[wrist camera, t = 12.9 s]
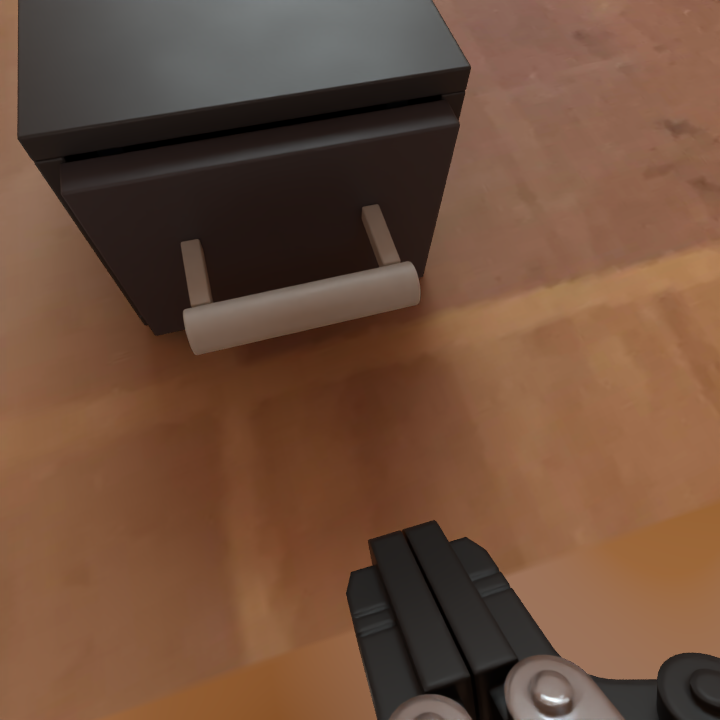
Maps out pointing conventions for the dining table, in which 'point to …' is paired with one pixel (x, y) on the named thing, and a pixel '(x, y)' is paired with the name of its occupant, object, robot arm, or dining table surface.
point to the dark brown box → (215, 69)
